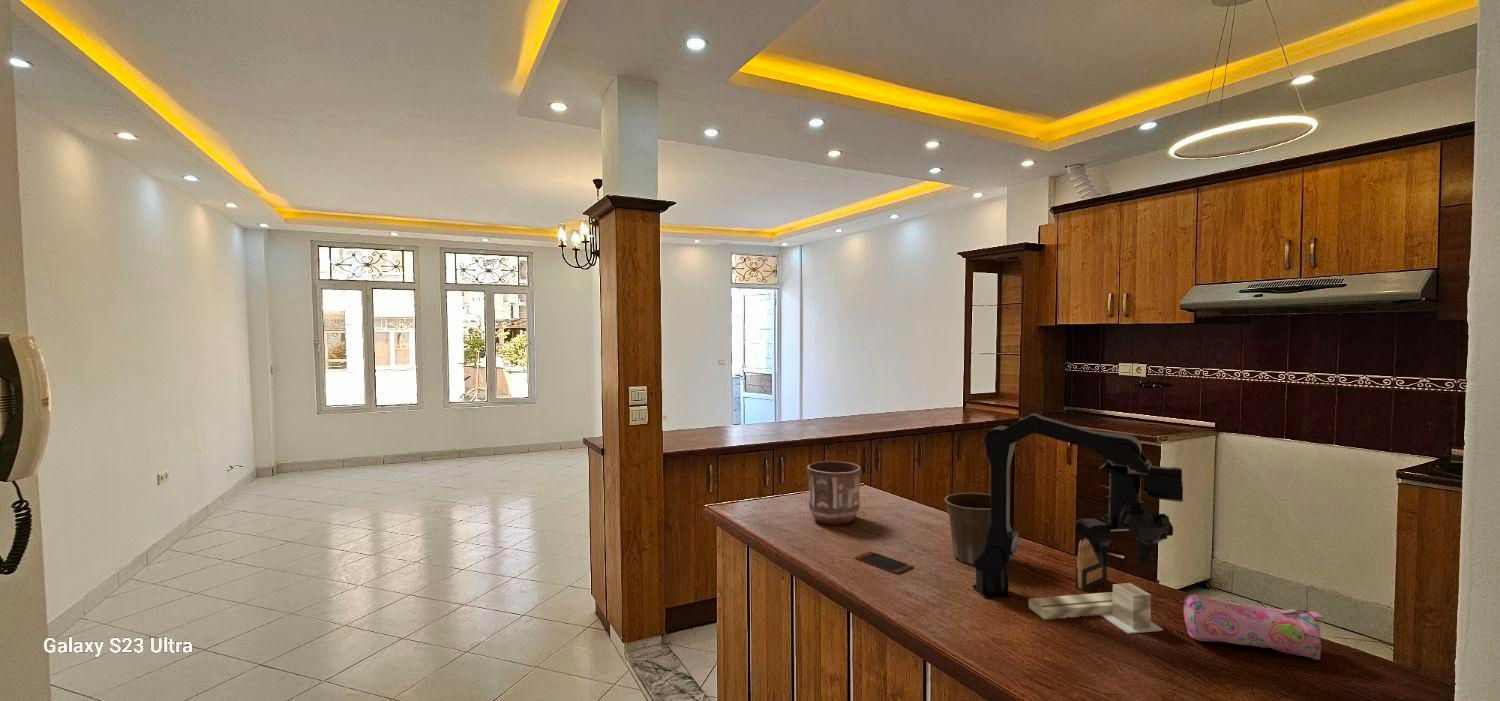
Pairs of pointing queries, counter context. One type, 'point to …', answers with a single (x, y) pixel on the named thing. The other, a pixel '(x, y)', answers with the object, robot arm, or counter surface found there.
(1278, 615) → the pencil case
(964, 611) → the counter surface
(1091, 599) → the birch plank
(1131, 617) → the maple block
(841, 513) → the pottery
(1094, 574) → the ammunition clip
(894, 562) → the smartphone
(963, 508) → the plant pot
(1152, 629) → the grey end pad
